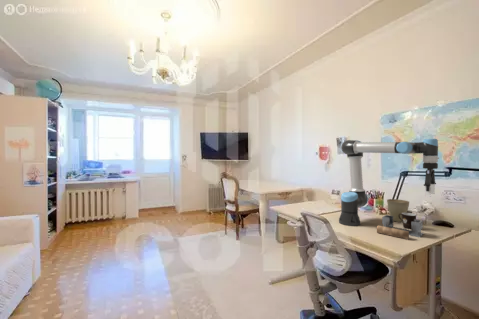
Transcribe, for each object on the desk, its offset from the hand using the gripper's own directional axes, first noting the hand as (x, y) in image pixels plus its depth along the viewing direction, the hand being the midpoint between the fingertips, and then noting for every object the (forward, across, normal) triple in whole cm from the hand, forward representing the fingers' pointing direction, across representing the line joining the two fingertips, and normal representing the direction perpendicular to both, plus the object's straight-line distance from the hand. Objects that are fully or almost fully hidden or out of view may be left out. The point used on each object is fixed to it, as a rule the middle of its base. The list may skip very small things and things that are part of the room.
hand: (429, 195), depth 152 cm
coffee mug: (+26, +9, +14) cm, 31 cm away
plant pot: (+26, +24, +23) cm, 43 cm away
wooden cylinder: (+26, -19, +16) cm, 36 cm away
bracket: (+26, -6, +14) cm, 30 cm away
